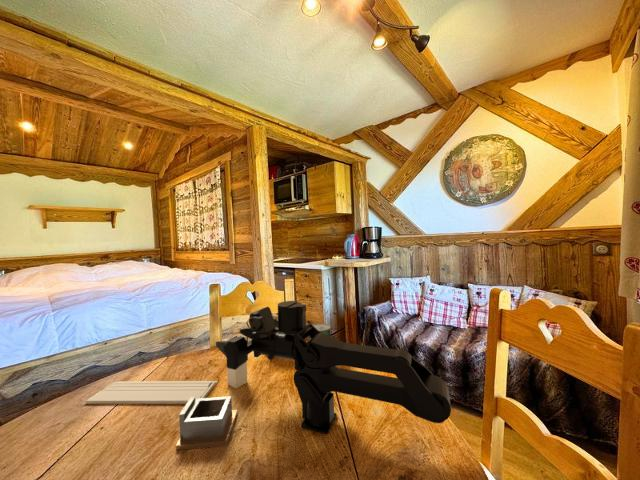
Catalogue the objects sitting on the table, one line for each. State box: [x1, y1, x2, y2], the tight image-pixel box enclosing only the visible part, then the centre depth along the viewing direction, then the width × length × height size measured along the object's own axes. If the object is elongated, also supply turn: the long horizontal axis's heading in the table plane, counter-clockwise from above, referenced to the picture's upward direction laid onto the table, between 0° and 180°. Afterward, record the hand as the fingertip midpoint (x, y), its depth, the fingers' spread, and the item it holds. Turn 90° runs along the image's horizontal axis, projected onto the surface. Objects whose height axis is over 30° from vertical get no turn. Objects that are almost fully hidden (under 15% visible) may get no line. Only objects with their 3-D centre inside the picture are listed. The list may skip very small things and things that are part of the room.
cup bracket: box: [175, 395, 238, 451], centre depth 60 cm, size 10×10×6 cm
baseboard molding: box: [85, 375, 220, 405], centre depth 76 cm, size 31×3×12 cm
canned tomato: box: [308, 322, 332, 341], centre depth 94 cm, size 8×8×11 cm
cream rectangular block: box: [226, 360, 248, 389], centre depth 79 cm, size 4×4×12 cm
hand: (229, 337), depth 71 cm, fingers open, 9 cm apart
